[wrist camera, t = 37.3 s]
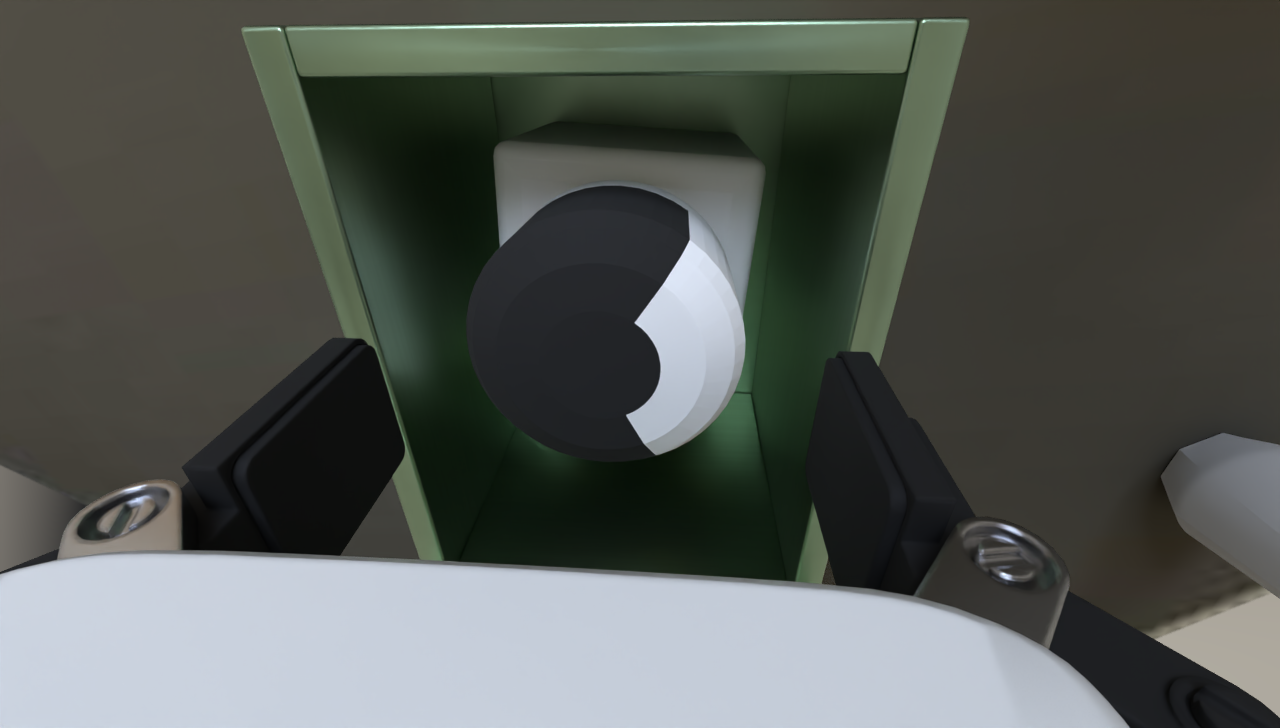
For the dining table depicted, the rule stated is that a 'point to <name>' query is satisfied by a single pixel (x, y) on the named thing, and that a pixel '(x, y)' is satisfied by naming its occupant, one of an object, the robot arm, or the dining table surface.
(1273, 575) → the salt shaker
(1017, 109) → the dining table surface
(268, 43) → the bin
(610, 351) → the medicine bottle
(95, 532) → the robot arm
